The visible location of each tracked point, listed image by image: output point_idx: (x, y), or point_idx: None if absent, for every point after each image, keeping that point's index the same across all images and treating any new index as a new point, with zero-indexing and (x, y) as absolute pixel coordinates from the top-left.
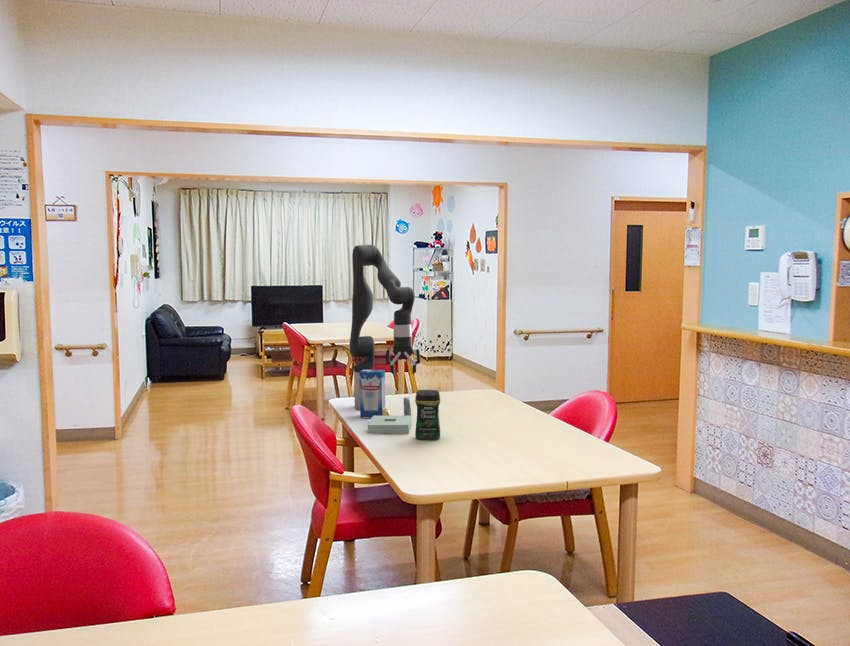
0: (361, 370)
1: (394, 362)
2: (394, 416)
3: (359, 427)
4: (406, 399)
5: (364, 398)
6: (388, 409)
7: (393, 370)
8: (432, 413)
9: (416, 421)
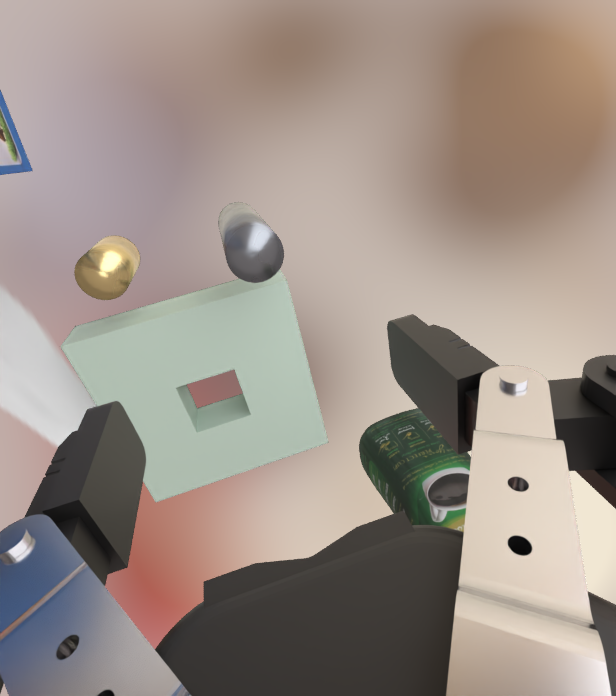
0: None
1: (81, 556)
2: (200, 329)
3: (51, 408)
4: (259, 281)
5: None
6: (109, 256)
7: (135, 495)
8: None
9: (388, 504)
